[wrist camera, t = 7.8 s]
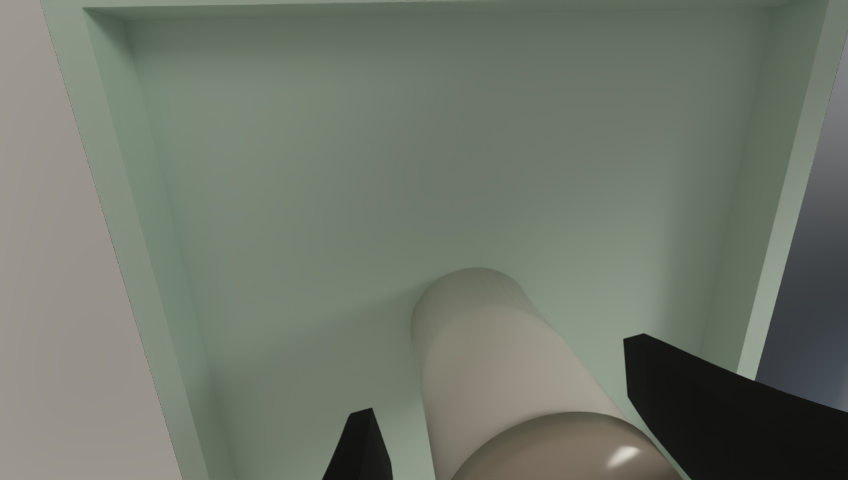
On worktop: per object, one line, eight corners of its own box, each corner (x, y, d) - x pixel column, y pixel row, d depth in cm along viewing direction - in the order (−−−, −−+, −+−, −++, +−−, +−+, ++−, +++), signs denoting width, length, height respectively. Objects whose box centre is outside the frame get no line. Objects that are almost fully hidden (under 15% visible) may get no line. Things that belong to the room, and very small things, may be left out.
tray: (93, -11, 11) (29, -35, 9) (788, -20, 13) (867, -41, 11) (243, 568, 18) (227, 628, 16) (674, 505, 20) (708, 551, 18)
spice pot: (558, 326, 16) (734, 540, 8) (461, 400, 16) (541, 666, 9) (484, 237, 14) (613, 396, 7) (380, 322, 15) (390, 559, 7)
